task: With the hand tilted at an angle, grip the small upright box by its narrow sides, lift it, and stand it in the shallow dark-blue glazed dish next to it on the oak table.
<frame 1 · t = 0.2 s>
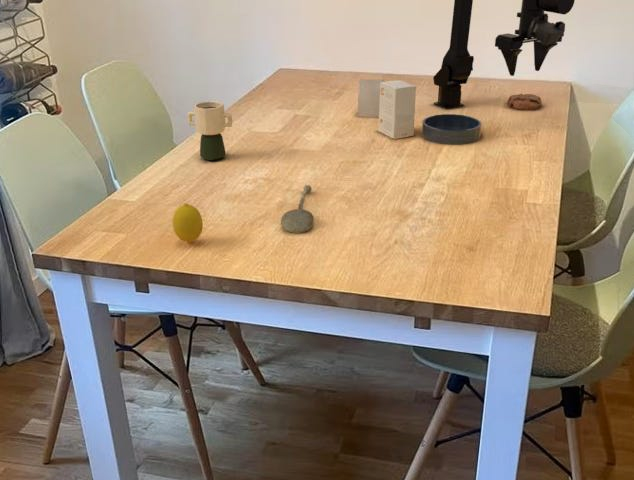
hand: (524, 73, 200), 15 cm above the table, tool pointing down, fingers open, 9 cm apart
small box: (395, 134, 205), on the table
character mug: (213, 158, 189), on the table
lemon: (189, 244, 147), on the table
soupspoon: (302, 212, 160), on the table
dish: (450, 135, 203), on the table
grey rectangular block: (370, 115, 220), on the table
cookie: (524, 106, 227), on the table
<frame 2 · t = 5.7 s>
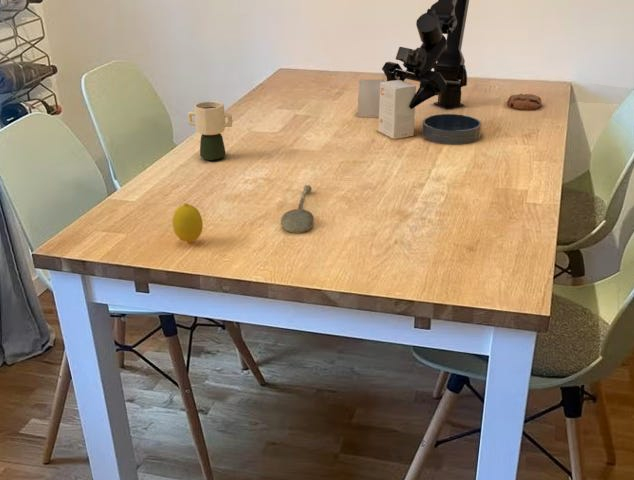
hand: (397, 104, 200), 8 cm above the table, tool tilted 45°, fingers open, 9 cm apart
nothing on the table moved.
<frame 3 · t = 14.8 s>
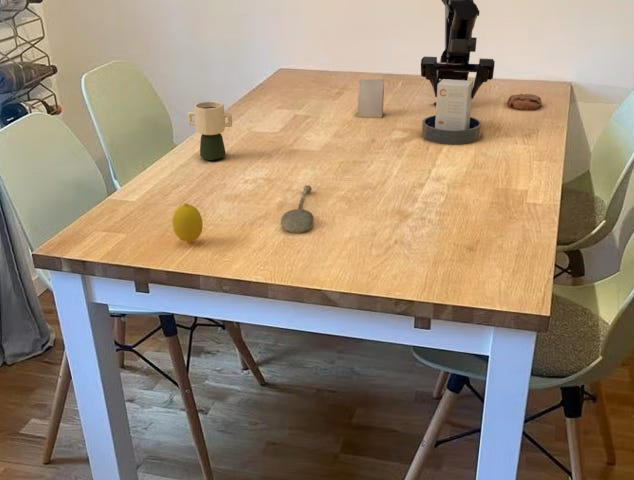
hand: (454, 97, 198), 10 cm above the table, tool tilted 45°, fingers open, 9 cm apart
small box: (451, 133, 203), resting on dish
everything else where it was.
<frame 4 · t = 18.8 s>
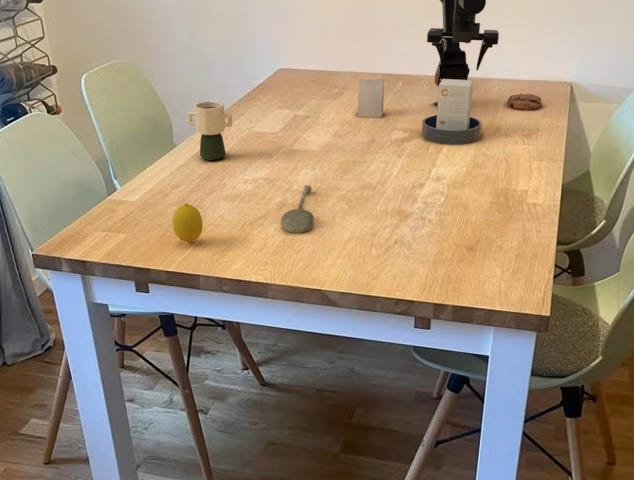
hand: (460, 69, 211), 13 cm above the table, tool pointing down, fingers open, 9 cm apart
nothing on the table moved.
at the end: small box inside the target area in the dish (0.9 cm from its centre), point 0.4 cm above the dish's base; small box tilted 0°; the gripper is holding nothing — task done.
